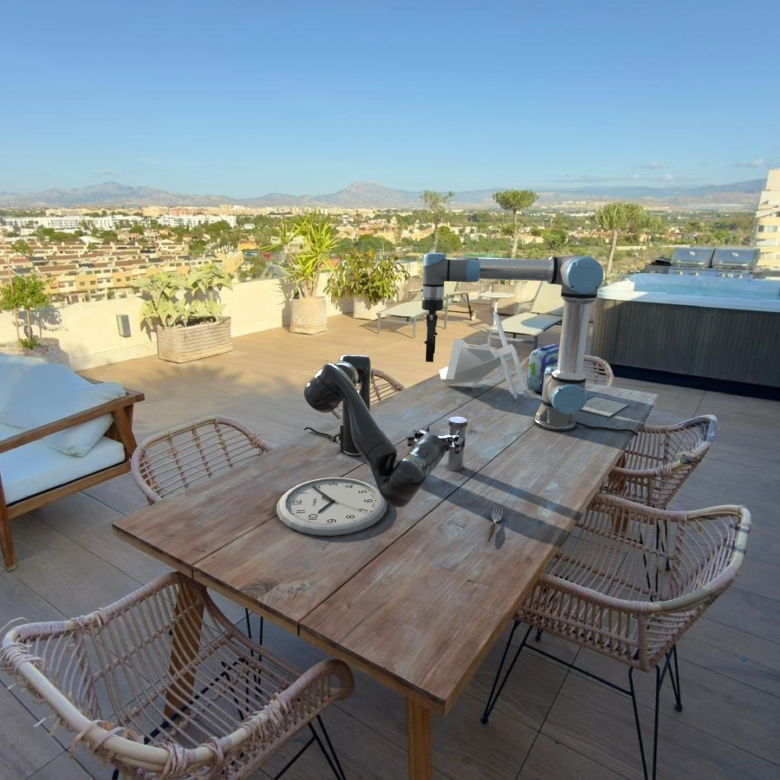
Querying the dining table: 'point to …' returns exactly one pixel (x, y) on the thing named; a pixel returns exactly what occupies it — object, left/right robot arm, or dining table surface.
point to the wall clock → (331, 506)
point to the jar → (454, 459)
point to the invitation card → (603, 406)
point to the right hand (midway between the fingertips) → (430, 357)
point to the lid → (457, 422)
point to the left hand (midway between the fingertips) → (443, 431)
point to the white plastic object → (482, 362)
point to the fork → (494, 518)
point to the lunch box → (541, 365)
